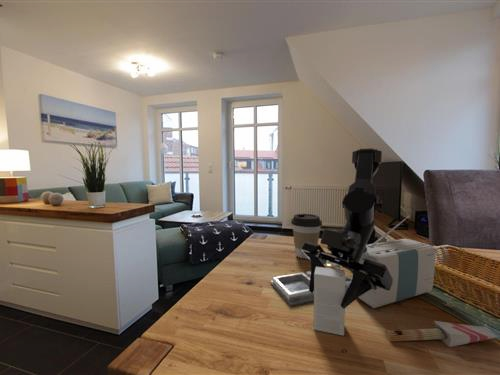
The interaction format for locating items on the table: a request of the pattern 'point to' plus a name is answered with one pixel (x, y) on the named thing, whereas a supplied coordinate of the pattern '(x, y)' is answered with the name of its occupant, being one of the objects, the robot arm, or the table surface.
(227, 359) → the table surface
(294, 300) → the grey divided tray
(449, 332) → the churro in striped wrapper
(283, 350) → the table surface
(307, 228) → the coffee cup
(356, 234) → the robot arm
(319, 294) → the skincare box
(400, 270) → the white boxy appliance
